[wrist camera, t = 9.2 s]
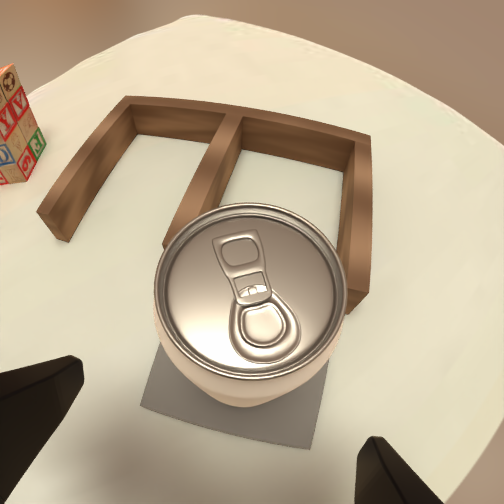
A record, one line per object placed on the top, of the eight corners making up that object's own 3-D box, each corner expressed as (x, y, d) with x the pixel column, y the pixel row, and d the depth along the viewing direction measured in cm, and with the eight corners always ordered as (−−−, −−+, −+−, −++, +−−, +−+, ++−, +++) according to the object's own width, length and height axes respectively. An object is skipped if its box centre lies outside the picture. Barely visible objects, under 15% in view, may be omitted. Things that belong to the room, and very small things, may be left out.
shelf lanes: (348, 314, 21) (369, 292, 18) (56, 238, 23) (36, 211, 20) (358, 165, 29) (370, 135, 26) (132, 124, 31) (125, 95, 27)
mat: (308, 448, 17) (309, 449, 16) (141, 406, 18) (139, 405, 17) (334, 314, 21) (336, 312, 21) (184, 278, 22) (183, 275, 22)
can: (207, 418, 17) (164, 423, 7) (182, 324, 20) (129, 216, 10) (306, 389, 18) (394, 349, 8) (275, 300, 21) (312, 177, 11)
